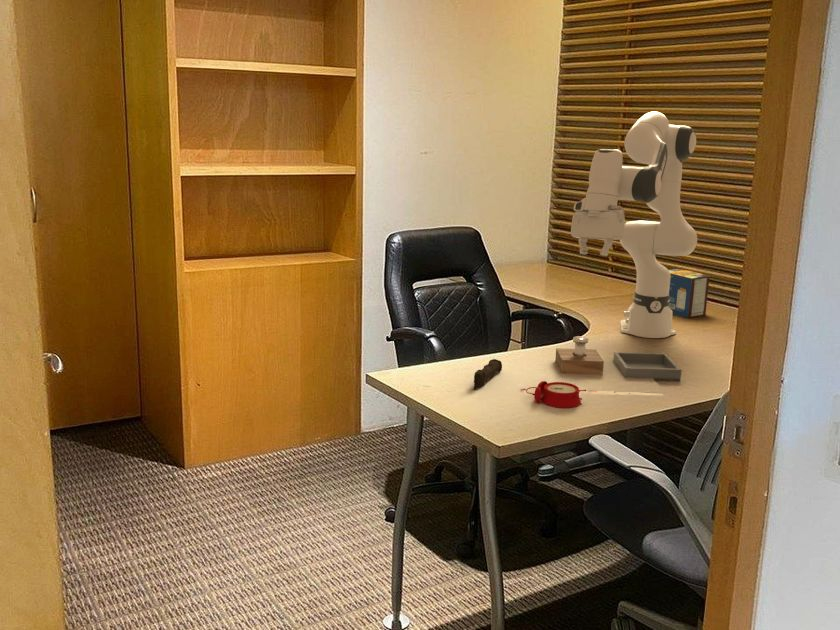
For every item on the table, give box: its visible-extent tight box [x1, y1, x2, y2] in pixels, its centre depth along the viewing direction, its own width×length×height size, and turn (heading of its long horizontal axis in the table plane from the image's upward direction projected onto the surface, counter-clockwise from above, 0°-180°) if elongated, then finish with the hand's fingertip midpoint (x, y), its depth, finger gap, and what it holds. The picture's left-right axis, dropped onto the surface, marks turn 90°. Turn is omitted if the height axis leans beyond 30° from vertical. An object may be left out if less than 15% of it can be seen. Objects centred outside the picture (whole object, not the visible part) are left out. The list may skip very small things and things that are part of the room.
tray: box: [612, 351, 683, 382], centre depth 244 cm, size 16×16×4 cm
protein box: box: [668, 268, 711, 319], centre depth 317 cm, size 10×15×16 cm
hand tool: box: [473, 358, 503, 390], centre depth 233 cm, size 19×4×5 cm, turn 155°
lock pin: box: [572, 335, 589, 357], centre depth 244 cm, size 4×4×9 cm
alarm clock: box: [525, 380, 587, 409], centre depth 218 cm, size 10×6×15 cm
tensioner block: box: [555, 347, 605, 375], centre depth 244 cm, size 12×12×5 cm
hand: (593, 254), depth 232 cm, fingers open, 8 cm apart
